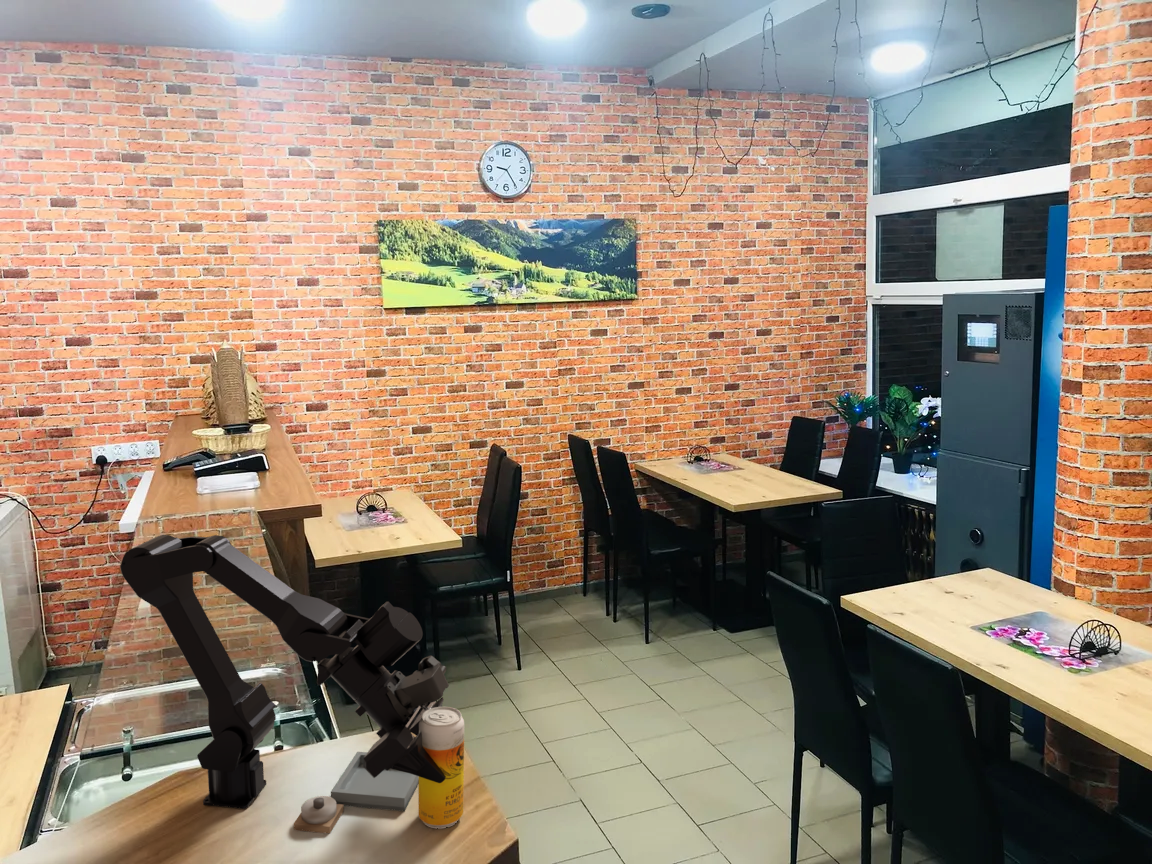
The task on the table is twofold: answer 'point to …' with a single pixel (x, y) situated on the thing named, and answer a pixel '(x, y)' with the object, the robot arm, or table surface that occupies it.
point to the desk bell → (318, 815)
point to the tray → (374, 787)
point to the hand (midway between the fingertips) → (449, 768)
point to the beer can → (442, 767)
